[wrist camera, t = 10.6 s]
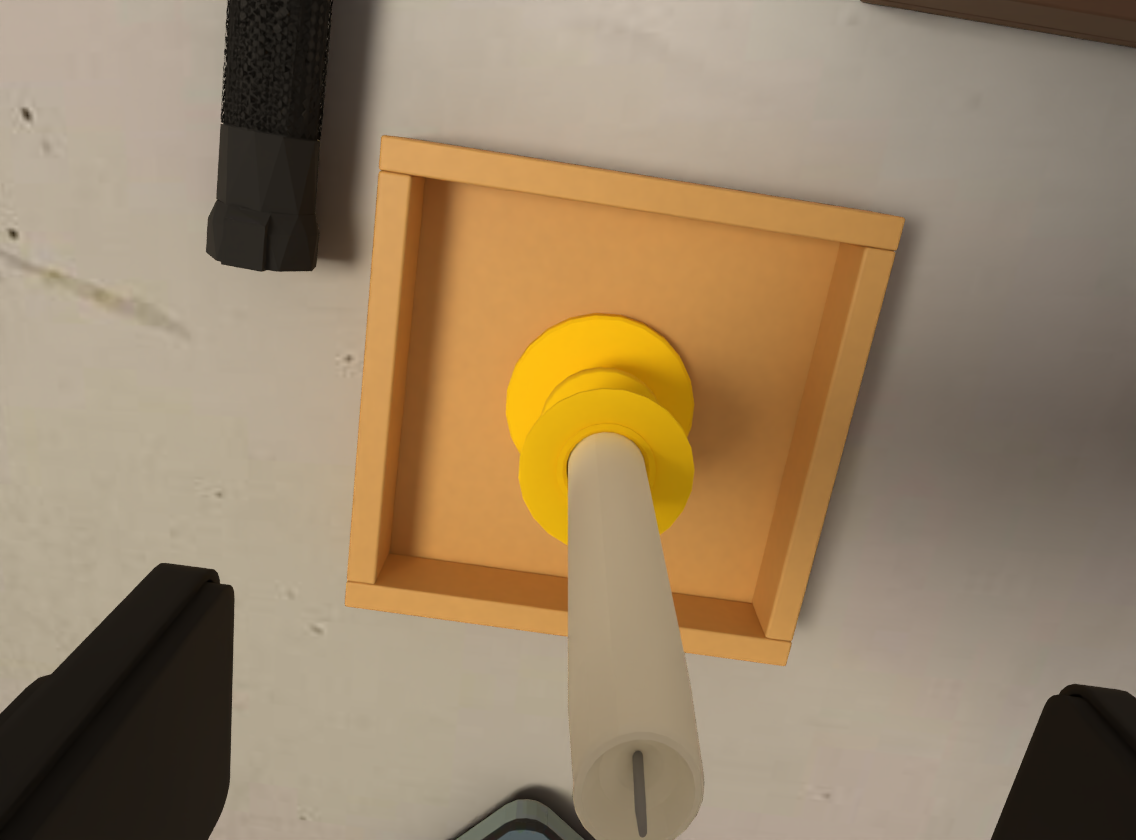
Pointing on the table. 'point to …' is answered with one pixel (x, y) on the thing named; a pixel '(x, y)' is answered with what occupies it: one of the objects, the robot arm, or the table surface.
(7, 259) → the table surface
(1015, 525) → the table surface
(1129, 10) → the dark tray
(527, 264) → the light tray
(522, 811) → the smartphone
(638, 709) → the candle
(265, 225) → the flashlight
